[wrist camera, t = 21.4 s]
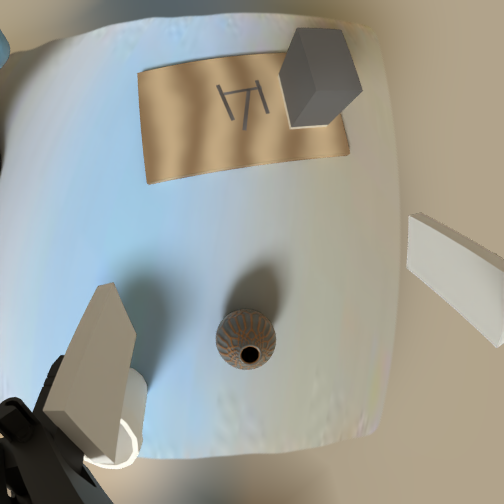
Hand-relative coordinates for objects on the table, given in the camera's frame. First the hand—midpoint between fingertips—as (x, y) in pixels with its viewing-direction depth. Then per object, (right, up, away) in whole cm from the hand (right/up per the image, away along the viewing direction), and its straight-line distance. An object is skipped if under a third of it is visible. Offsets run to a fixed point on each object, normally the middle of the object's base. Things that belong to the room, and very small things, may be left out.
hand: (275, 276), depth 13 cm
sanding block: (+6, +21, +24) cm, 32 cm away
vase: (-2, -9, +26) cm, 28 cm away
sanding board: (-2, +19, +25) cm, 31 cm away
